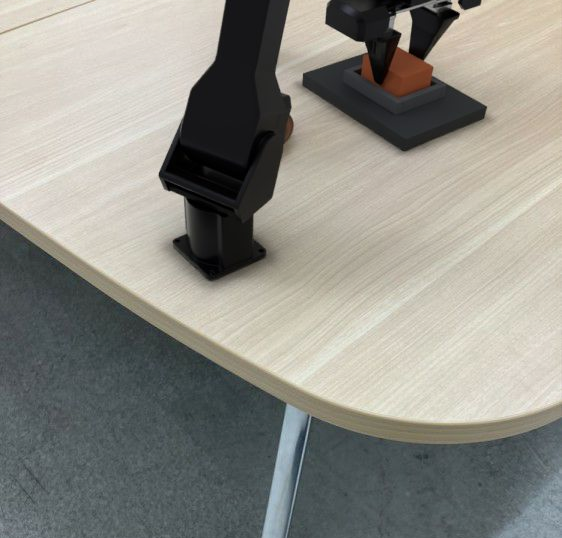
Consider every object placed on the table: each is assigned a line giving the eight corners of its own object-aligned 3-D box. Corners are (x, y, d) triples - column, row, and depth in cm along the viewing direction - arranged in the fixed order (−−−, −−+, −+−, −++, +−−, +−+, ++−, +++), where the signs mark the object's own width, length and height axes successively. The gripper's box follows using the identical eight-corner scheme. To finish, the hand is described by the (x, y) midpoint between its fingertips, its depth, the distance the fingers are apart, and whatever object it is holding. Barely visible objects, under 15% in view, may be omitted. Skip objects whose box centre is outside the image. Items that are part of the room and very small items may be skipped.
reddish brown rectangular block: (429, 91, 92) (434, 66, 89) (398, 102, 89) (402, 77, 87) (391, 69, 95) (394, 44, 93) (360, 80, 93) (363, 55, 91)
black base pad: (484, 118, 92) (490, 94, 90) (403, 151, 86) (408, 126, 84) (380, 58, 101) (384, 35, 99) (302, 85, 96) (303, 61, 93)
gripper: (427, -106, 88) (405, 33, 100) (297, -78, 80) (289, 70, 92) (501, -77, 83) (469, 67, 94) (369, -43, 74) (352, 110, 86)
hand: (395, 77), depth 91 cm, fingers closed on reddish brown rectangular block, 5 cm apart
